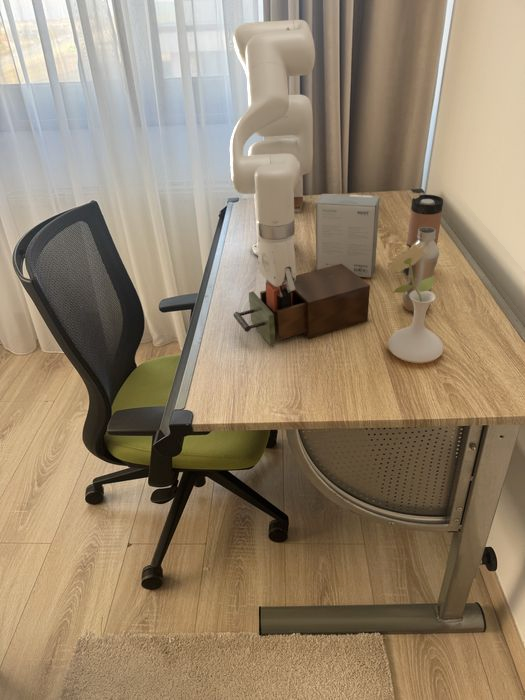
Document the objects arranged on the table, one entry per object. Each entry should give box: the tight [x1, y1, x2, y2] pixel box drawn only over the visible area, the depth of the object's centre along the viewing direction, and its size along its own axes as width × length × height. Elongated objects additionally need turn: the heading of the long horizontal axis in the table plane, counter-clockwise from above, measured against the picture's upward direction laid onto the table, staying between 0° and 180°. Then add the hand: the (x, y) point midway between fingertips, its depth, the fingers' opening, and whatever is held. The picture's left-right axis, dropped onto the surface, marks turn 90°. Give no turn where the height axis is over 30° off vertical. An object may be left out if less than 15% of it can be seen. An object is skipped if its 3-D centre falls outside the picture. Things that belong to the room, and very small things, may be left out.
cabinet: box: [294, 264, 371, 340], centre depth 120 cm, size 16×13×10 cm
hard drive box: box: [315, 193, 381, 278], centre depth 136 cm, size 16×8×20 cm, turn 71°
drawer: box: [233, 289, 307, 346], centre depth 116 cm, size 19×11×8 cm, turn 113°
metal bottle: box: [402, 227, 440, 313], centre depth 118 cm, size 6×7×20 cm
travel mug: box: [404, 194, 444, 276], centre depth 132 cm, size 8×8×20 cm
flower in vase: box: [386, 243, 444, 364], centre depth 102 cm, size 13×11×25 cm
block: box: [265, 279, 292, 312], centre depth 114 cm, size 4×4×6 cm
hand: (279, 304), depth 115 cm, fingers closed on block, 4 cm apart
